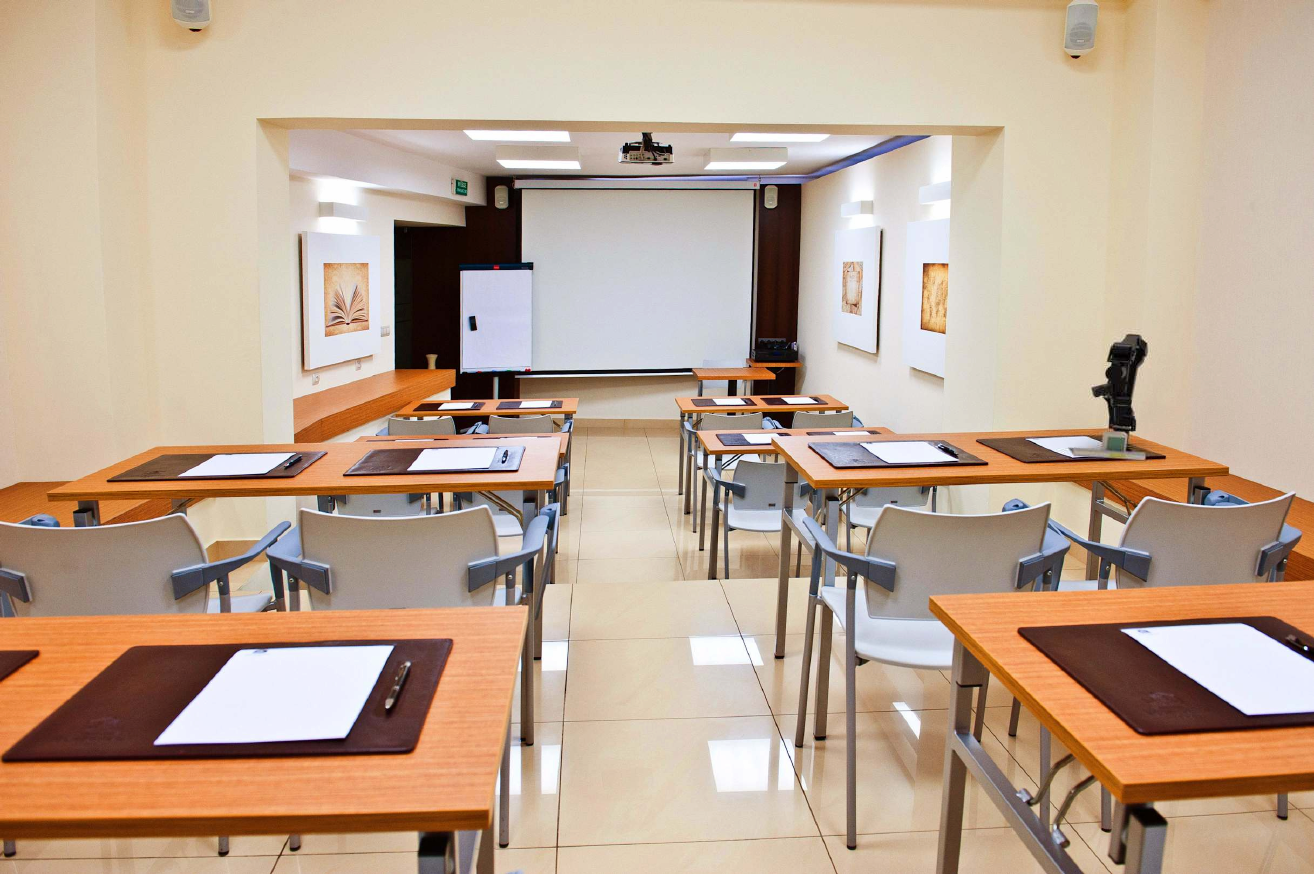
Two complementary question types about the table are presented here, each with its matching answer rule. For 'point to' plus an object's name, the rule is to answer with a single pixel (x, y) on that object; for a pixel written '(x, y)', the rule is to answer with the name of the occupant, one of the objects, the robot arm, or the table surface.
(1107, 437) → the tea box
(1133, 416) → the robot arm
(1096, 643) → the table surface
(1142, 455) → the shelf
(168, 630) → the table surface
